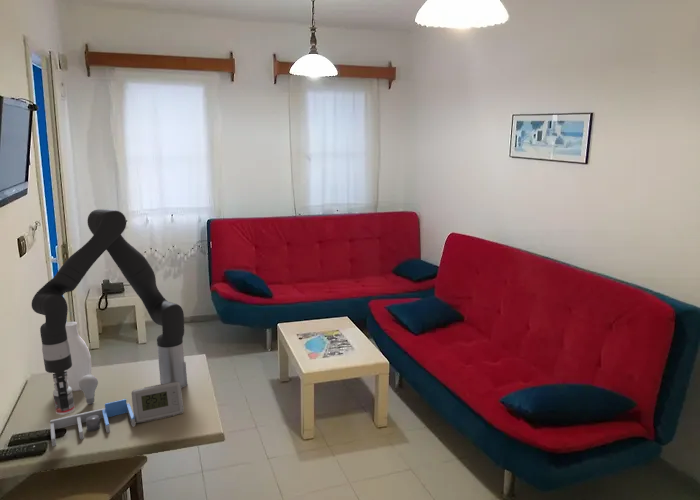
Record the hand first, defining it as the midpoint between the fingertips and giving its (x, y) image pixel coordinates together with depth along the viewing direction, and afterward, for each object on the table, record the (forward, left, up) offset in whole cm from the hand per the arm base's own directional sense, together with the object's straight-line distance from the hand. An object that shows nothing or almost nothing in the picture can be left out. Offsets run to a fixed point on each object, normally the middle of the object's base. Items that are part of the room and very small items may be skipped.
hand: (64, 403), depth 174 cm
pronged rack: (-7, 0, -11) cm, 13 cm away
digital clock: (-28, +2, -11) cm, 30 cm away
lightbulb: (-8, -19, -11) cm, 23 cm away
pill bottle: (0, 0, -3) cm, 3 cm away
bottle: (-5, -37, -11) cm, 39 cm away
